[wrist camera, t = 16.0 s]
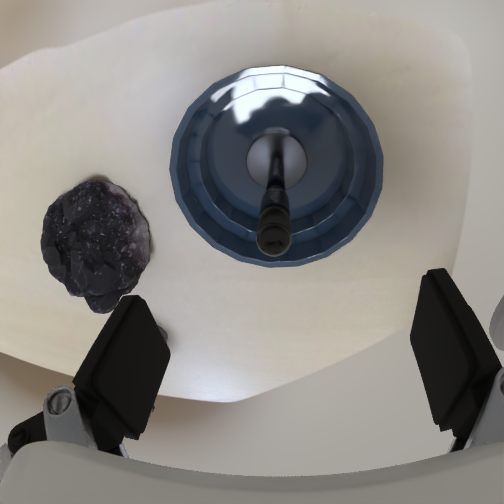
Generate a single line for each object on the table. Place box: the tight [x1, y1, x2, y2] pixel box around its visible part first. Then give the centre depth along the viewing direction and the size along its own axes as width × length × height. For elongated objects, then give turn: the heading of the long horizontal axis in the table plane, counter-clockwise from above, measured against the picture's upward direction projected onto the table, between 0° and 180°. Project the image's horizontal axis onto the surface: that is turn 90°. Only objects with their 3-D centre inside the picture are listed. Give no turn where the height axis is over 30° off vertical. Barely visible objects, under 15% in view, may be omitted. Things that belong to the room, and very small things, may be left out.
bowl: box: [169, 65, 384, 268], centre depth 24 cm, size 16×16×6 cm
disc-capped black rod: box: [246, 130, 307, 256], centre depth 20 cm, size 5×5×16 cm
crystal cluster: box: [41, 180, 150, 314], centre depth 29 cm, size 13×14×10 cm
